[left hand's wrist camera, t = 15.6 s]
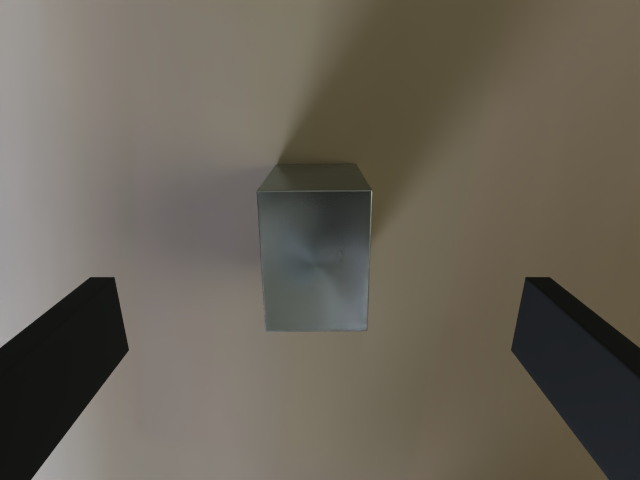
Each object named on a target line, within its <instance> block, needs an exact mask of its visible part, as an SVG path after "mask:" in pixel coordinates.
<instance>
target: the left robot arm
mask: <svg viewBox="0 0 640 480" xmlns="http://www.w3.org/2000/svg"><path fill="white" fill-rule="evenodd" d="M128 351H129V348H128V343H127V338H126V333H125V328H124V323H123V318H122V313H121V308H120V303H119V298H118V293H117V288H116V283H115V278H114V277H90V278H89V279H88V280H86V281H85V282H84V283H82V284H81V285H80V286H79V287H77V288H76V289H75V290H74V291H72V292H71V293H70V294H68V295H67V296H66V297H65V298H63V299H62V300H61V301H60V302H58V303H57V304H56V305H54V306H53V307H52V308H51V309H49V310H48V311H47V312H46V313H44V314H43V315H42V316H40V317H39V318H38V319H37V320H35V321H34V322H33V323H32V324H30V325H29V326H28V327H26V328H25V329H24V330H23V331H21V332H20V333H19V334H17V335H16V336H15V337H14V338H12V339H11V340H10V341H9V342H7V343H6V344H5V345H3V346H2V347H1V348H0V480H31V479H32V478H33V476H34V475H35V474H36V472H37V471H38V470H39V468H40V467H41V466H42V464H43V463H44V462H45V460H46V459H47V458H48V456H49V455H50V454H51V453H52V451H53V450H54V449H55V447H56V446H57V445H58V443H59V442H60V441H61V439H62V438H63V437H64V435H65V434H66V433H67V431H68V430H69V429H70V427H71V426H72V425H73V423H74V422H75V421H76V419H77V418H78V417H79V415H80V414H81V413H82V411H83V410H84V409H85V408H86V406H87V405H88V404H89V402H90V401H91V400H92V398H93V397H94V396H95V394H96V393H97V392H98V390H99V389H100V388H101V386H102V385H103V384H104V382H105V381H106V380H107V378H108V377H109V376H110V374H111V373H112V372H113V370H114V369H115V368H116V366H117V365H118V364H119V362H120V361H121V360H122V359H123V357H124V356H125V355H126V353H127V352H128ZM511 351H512V352H513V353H514V355H515V356H516V357H517V359H518V360H519V361H520V363H521V364H522V365H523V366H524V368H525V369H526V370H527V372H528V373H529V374H530V376H531V377H532V378H533V380H534V381H535V382H536V384H537V385H538V386H539V388H540V389H541V390H542V392H543V393H544V394H545V396H546V397H547V398H548V400H549V401H550V402H551V404H552V405H553V406H554V408H555V409H556V410H557V411H558V413H559V414H560V415H561V417H562V418H563V419H564V421H565V422H566V423H567V425H568V426H569V427H570V429H571V430H572V431H573V433H574V434H575V435H576V437H577V438H578V439H579V441H580V442H581V443H582V445H583V446H584V447H585V449H586V450H587V451H588V453H589V454H590V455H591V456H592V458H593V459H594V460H595V462H596V463H597V464H598V466H599V467H600V468H601V470H602V471H603V472H604V474H605V475H606V476H607V478H608V479H609V480H640V348H639V347H638V346H637V345H635V344H634V343H633V342H631V341H630V340H629V339H628V338H626V337H625V336H624V335H622V334H621V333H620V332H619V331H617V330H616V329H615V328H614V327H612V326H611V325H610V324H608V323H607V322H606V321H605V320H603V319H602V318H601V317H600V316H598V315H597V314H596V313H594V312H593V311H592V310H591V309H589V308H588V307H587V306H586V305H584V304H583V303H582V302H580V301H579V300H578V299H577V298H575V297H574V296H573V295H572V294H570V293H569V292H568V291H566V290H565V289H564V288H563V287H561V286H560V285H559V284H558V283H556V282H555V281H554V280H552V279H551V278H550V277H526V278H525V283H524V288H523V293H522V298H521V303H520V308H519V313H518V318H517V323H516V328H515V333H514V338H513V343H512V348H511Z"/></svg>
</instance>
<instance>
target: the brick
mask: <svg viewBox="0 0 640 480" xmlns="http://www.w3.org/2000/svg"><path fill="white" fill-rule="evenodd" d="M372 192H373V191H372V189H371V187H370V186H369V184H368V182H367V181H366V179H365V178H364V176H363V174H362V173H361V171H360V169H359V168H358V166H357V165H356V164H277V165H275V167H274V168H273V170H272V171H271V172H270V174H269V175H268V176H267V178H266V179H265V181H264V182H263V183H262V185H261V186H260V188H259V189H258V190H257V204H258V220H259V236H260V253H261V269H262V285H263V302H264V318H265V331H266V332H287V331H367V326H368V299H369V273H370V246H371V219H372Z"/></svg>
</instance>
